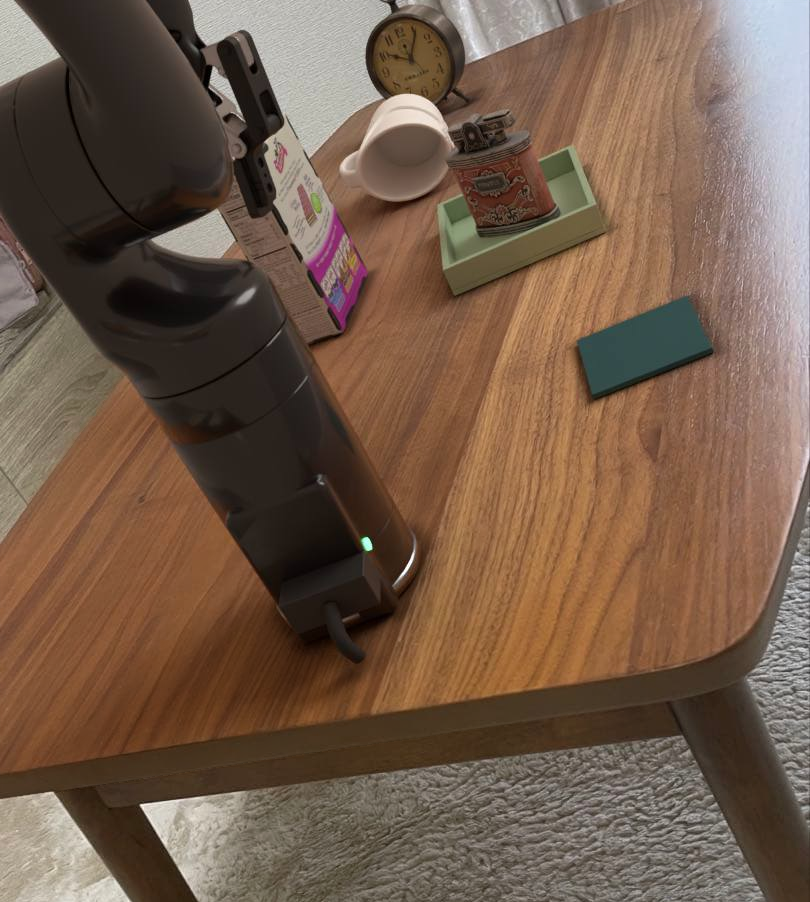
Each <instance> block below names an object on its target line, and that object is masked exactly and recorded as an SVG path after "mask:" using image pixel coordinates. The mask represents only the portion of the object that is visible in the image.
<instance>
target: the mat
mask: <svg viewBox="0 0 810 902" xmlns="http://www.w3.org/2000/svg"><path fill="white" fill-rule="evenodd" d="M691 302H692V301H690V298H689V296H688V295H684V296H682V297H679V298H677V299H675V300H672V301H669V302H667V303H665V304H662V305H660V306H657V307H655V308H652V309H650V310H647V311H645V312H643V313H640V314H638V315H635V316H633V317H631V318H628V319H626V320H623V321H620V322H618V323H615V324H613V325H611V326H608V327H605V328H604V329H601V330H599V331H595V332H594V333H591V334H588V335H586V336H584V337H581V338H578V339H577V340H576V344H577V347H578V350H579V355H580V357H581V361H582V365H583V368H584V373H585V376H586V379H587V383H588V385H589V389H590V393H591V396H592V399H593V400H596V399H599V398H601V397H604V396H606V395H609V394H611V393H614V392H617V391H620V390H621V389H625V388H627V387H629V386H633V385H635V384H637V383H640V382H642V381H644V380H647V379H649V378H653V377H656V376H657V375H660V374H662V373H665V372H668V371H670V370H672V369H675V368H678V367H680V366H683V365H685V364H688V363H691V362H693V361H696V360H698V359H701V358H703V357H706V356H708V355H710V354H713V353H715V352H714V348H713V345H712V344H711V342H710V340H709V338H708V335H707V334H706V331H705V330H704V328H703V325H702V324H701V321H700V319H699V317H698V315H697V313H696V311H695V308H694V307H693V304H692V303H691Z"/></svg>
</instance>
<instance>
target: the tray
mask: <svg viewBox="0 0 810 902" xmlns="http://www.w3.org/2000/svg"><path fill="white" fill-rule="evenodd" d="M537 160H538V163H539V165H540V168H541V170H542V173H543V175H544V178H545V180H546V183H547V185H548V188H549V190H550V193H551V195H552V198H553V200H554V202H556V203H557V204H558V207H559V209H560V212H561V216H560V217H558V218H556V219H554V220H552V221H549V222H547V223H545V224H542V225H540V226H538V227H535V228H533V229H531V230H528V231H526V232H524V233H519V234H514V235H509V236H502V237H493V238H480V237H479V235H478V233H477V231H476V229H475V226H476V223H475V221H474V219H473V216H472V214H471V212H470V210H469V207H468V205H467V203H466V200H465V198H464V196H463V194H462V193H461V194H458V195H456V196H453V197H452V198H449V199H447V200H444V201H442V202H440V203H438V204H436V211H437V212H436V213H437V222H438V233H439V244H440V255H441V265H442V267H441V268H442V272H443V274H444V277H445V279H446V281H447V283H448V285H449V287H450V289H451V291H452V294H453V296H454V297H457V296H458V295H460V294H463V293H466V292H468V291H470V290H472V289H474V288H478V287H479V286H482V285H484V284H487V283H489V282H491V281H494V280H497V279H499V278H500V277H504V276H506V275H507V274H510V273H512V272H515V271H517V270H520V269H522V268H524V267H527V266H529V265H531V264H534V263H536V262H539V261H541V260H544V259H545V258H547V257H550V256H553V255H554V254H557V253H560V252H562V251H564V250H567V249H569V248H571V247H575V246H576V245H578V244H580V243H583V242H586V241H588V240H590V239H593V238H595V237H597V236H600V235H602V234H604V233H606V232H607V228H606V226H605V223H604V220H603V218H602V215H601V212H600V209H599V206H598V204H597V202H596V199H595V196H594V193H593V192H592V191H593V190H592V189H591V186H590V184H589V181H588V179H587V176H586V174H585V172H584V168H583V166H582V163H581V161H580V159H579V156H578V153H577V151H576V148H575V146H574V144H570V145H568V146H566V147H564V148H562V149H559V150H556V151H555V152H552V153H550V154H548V155H545V156H543V157H541V158H539V159H537Z"/></svg>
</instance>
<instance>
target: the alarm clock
mask: <svg viewBox="0 0 810 902" xmlns="http://www.w3.org/2000/svg"><path fill="white" fill-rule="evenodd" d="M379 1H380V2H382V3H384V4H387V5H389V8H390V11H391V12H390V13H389V14H388V15H387V16H386V17H384V18H383V19H381V20H380V21H379V22H378V23H377V24H376V25H375V26H374V28H372V30H371V32H370V34H369V36H368V39H367V42H366V46H365V55H364V59H365V67H366V71H367V74H368V77H369V79H370V81H371V84H372V85H373V87H374V88H375V90H376V91H377V93H378V94H379V95H380V96H381V98H383V99H384V100H385V101H386V100H388V99H389V98H391V97H394V96H396V95H400V94H414V95H418V96H421V97H424V98H426V99H427V100H429V101H430V102H432V103H433V104H434V105H435V106H436V107H438V106H440V104H443V102H444V101H448V99H449V98H448V97H449V96H450V94H451V93H452V94H453V95H455V96H456V97H459V98H460V99H463V100H464V101H465V103H470V102H471V97H470V96H469V95H466V94H465V93H464V92H463V91H462V90H461V89H460V88H458V87H457V86H458V84H459V83H460V81H461V79H462V77H463V74H464V72H465V66H466V50H465V46H464V41H463V39H462V35H461V34H460V32H459V30H458V28H457V27H456V25H455V24H454V23H453V22H452V21H451V19H450V18H449V17H447V16H446V15H445V14H444V13H443V12H442V11H440V10H438V9H437V8H435V7H432V6H429V5H425V4H418V3H413V4H406V5H403V6H400V7H399V5H398V4H397V0H379Z"/></svg>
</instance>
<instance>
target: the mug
mask: <svg viewBox="0 0 810 902" xmlns="http://www.w3.org/2000/svg"><path fill="white" fill-rule="evenodd" d="M448 129H449V127H448V124H447V123H446V121H445V119H444V117H443V115H442V113H441V111H440V110H439V109H438V106H435V105H434V104H433V103H432V102H430V101H429V100H427V99H426V98H424V97H421V96H418V95H414V94H400V95H396V96H394V97H391V98H389V99H388V100H386V99H385V100H384V101H383V102H381V104H380V105H379V106H378V107H377V108H376V110H375V111H374V113H373V114H372V117H371V120H370V122H369V125H368V128H367V130H366V132H365V135H364V137H363V139H362V141H361V144H360V146H359V149H358V150H356V151H353V152H352V153H350V154H348V156H346V157H345V158H344V159H343V161H342V162H341V163H340V165H339V169H338V171H339V174H340V177H341V178H342V181H343V182H344V184H345V186H347V187H348V188H350V189H359V188H362V190H363V191H364V192H365V193H367V194H368V195H369V196H371V197H372V198H377V199H379V200H383V201H387V202H394V203H395V202H399V203H400V202H407V201H411V200H415V199H417V198H420V197H422V196H424V195H426V194H428V193H430V192H431V191H432V190H434V189H435V188H436V187H437V186H439V184H440V183H441V182H442V181H443V180H444V178H445V177H446V175H447V173H448V172H449V169H450V168H449V167H448V165H447V163H446V160H445V157H446V155H447V154H448V153H449V152H451V151H452V150H453V149H455V145H454V142H452V141H451V139H450V136H449V134H448V132H447V130H448Z"/></svg>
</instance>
